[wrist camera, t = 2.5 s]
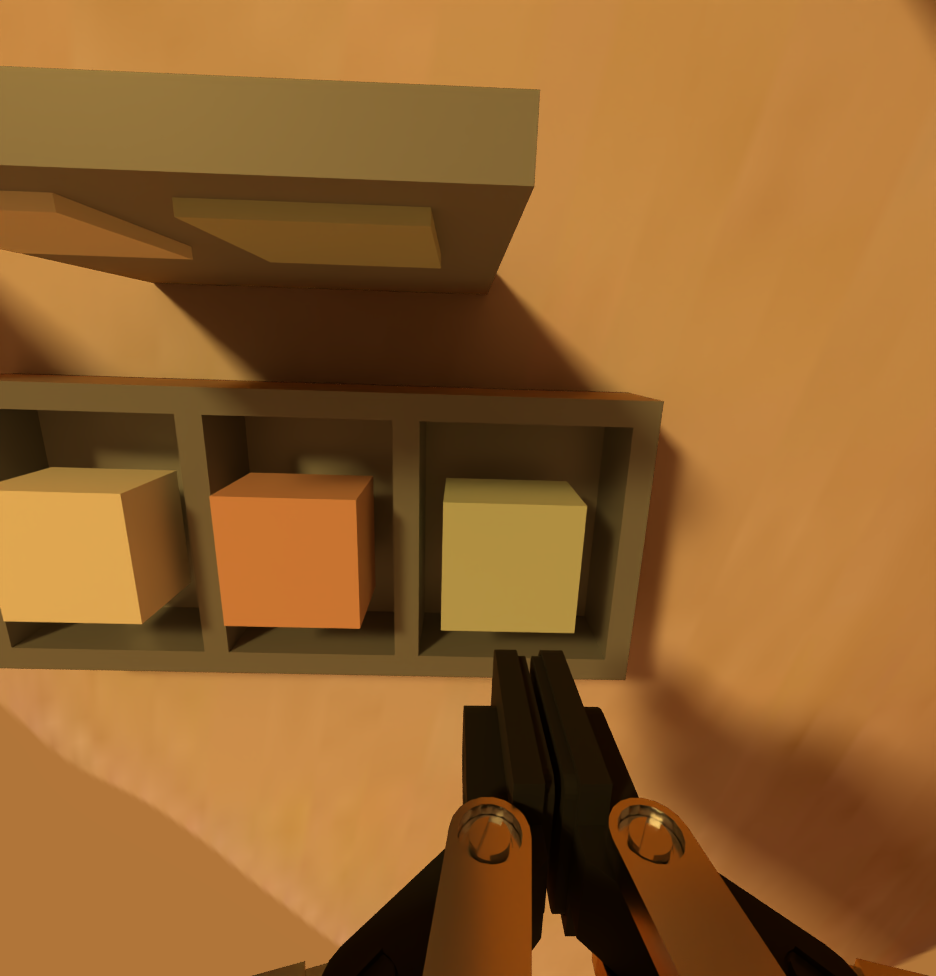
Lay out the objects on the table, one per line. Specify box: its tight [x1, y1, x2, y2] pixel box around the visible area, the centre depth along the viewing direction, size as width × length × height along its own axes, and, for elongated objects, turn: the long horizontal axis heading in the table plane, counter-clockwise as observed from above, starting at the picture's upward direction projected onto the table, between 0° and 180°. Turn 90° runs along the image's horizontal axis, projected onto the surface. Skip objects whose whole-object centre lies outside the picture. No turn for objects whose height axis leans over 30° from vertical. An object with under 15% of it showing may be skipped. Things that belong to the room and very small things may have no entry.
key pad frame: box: [0, 374, 664, 680], centre depth 21 cm, size 12×27×4 cm, turn 88°
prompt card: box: [0, 66, 540, 294], centre depth 14 cm, size 2×14×14 cm, turn 88°
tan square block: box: [0, 467, 191, 624], centre depth 19 cm, size 5×5×3 cm
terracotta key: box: [209, 473, 376, 629], centre depth 19 cm, size 5×5×3 cm
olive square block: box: [441, 478, 587, 633], centre depth 19 cm, size 5×5×3 cm
